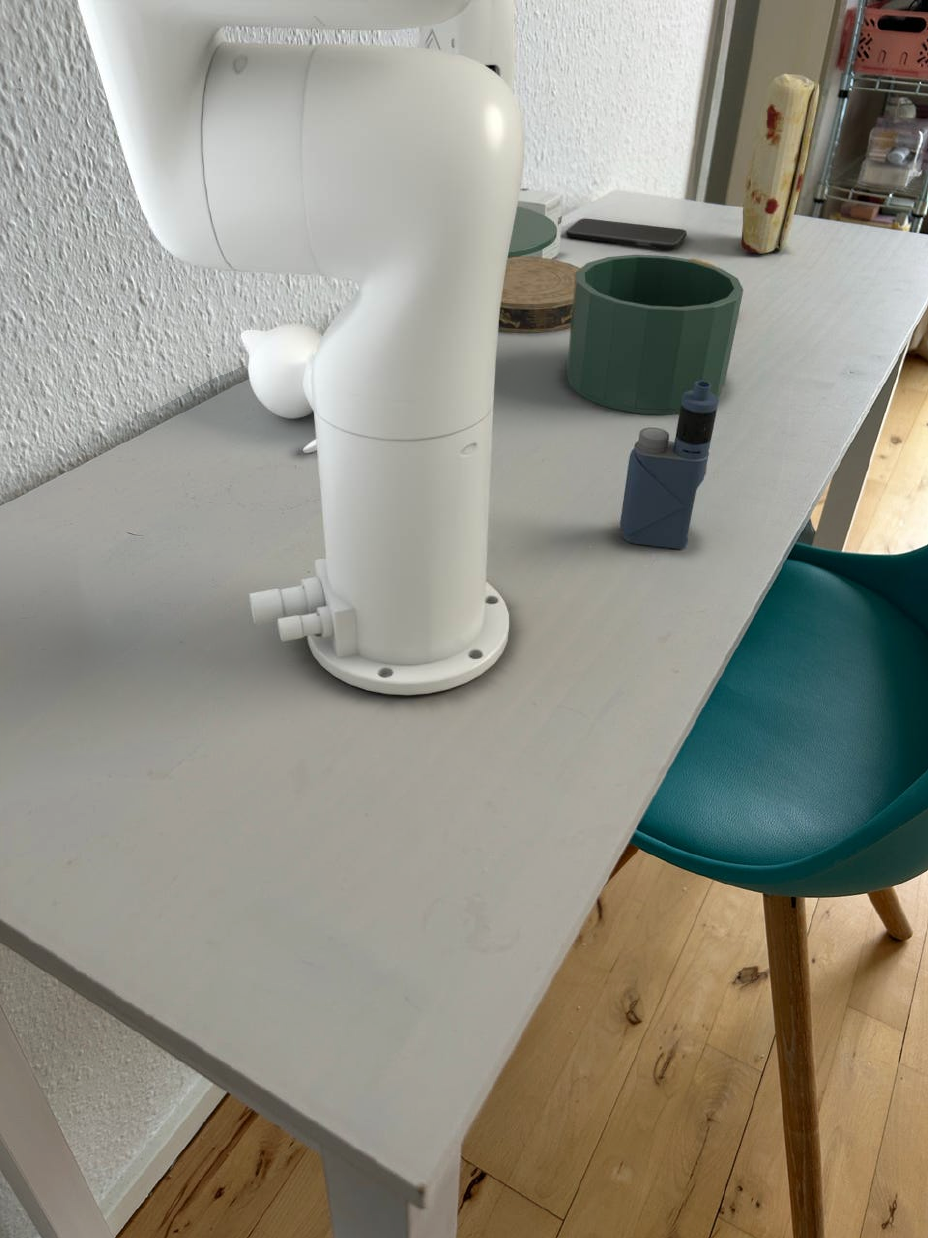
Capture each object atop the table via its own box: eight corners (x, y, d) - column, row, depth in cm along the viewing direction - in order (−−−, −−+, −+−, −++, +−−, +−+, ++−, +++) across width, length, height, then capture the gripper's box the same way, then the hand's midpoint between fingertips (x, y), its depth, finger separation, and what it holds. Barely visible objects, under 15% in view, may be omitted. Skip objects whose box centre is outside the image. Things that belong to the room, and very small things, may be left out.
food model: (739, 235, 129) (772, 66, 117) (790, 242, 127) (828, 70, 115) (728, 256, 122) (761, 78, 109) (782, 263, 120) (822, 82, 107)
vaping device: (691, 552, 68) (723, 394, 60) (617, 543, 68) (639, 385, 61) (692, 533, 70) (722, 377, 62) (619, 524, 70) (641, 369, 63)
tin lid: (401, 276, 73) (399, 183, 69) (353, 219, 85) (349, 136, 81) (586, 259, 77) (594, 170, 73) (516, 207, 89) (520, 128, 85)
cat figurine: (380, 323, 75) (259, 290, 80) (316, 432, 73) (194, 392, 77) (409, 388, 83) (298, 355, 87) (353, 489, 81) (241, 450, 85)
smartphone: (580, 216, 131) (688, 229, 127) (580, 224, 132) (687, 236, 127) (564, 231, 126) (676, 244, 121) (563, 238, 126) (675, 251, 122)
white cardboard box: (541, 267, 116) (546, 204, 112) (496, 260, 118) (499, 197, 114) (559, 254, 121) (564, 192, 116) (515, 247, 123) (519, 186, 118)
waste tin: (607, 423, 83) (620, 316, 77) (543, 359, 94) (550, 261, 88) (752, 403, 87) (775, 300, 81) (674, 344, 98) (689, 249, 92)
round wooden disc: (555, 343, 97) (557, 314, 96) (422, 313, 103) (421, 285, 102) (613, 297, 109) (617, 271, 107) (490, 273, 114) (491, 247, 113)
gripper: (389, -59, 74) (395, 193, 85) (456, -43, 62) (452, 249, 73) (480, -59, 76) (474, 188, 87) (563, -43, 64) (543, 241, 75)
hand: (464, 213), depth 80 cm, fingers closed on tin lid, 3 cm apart
